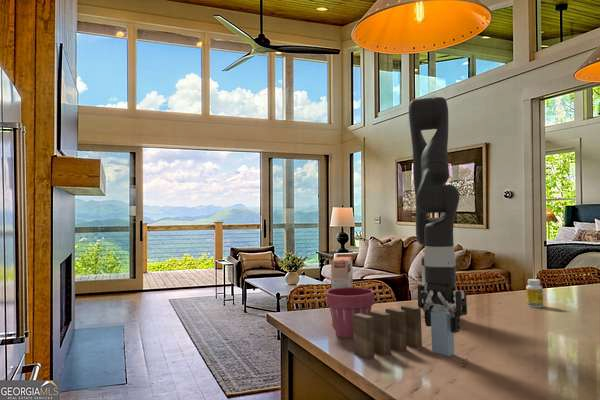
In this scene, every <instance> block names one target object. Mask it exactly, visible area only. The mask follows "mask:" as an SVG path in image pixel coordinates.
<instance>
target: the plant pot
mask: <svg viewBox="0 0 600 400" xmlns="http://www.w3.org/2000/svg"><path fill="white" fill-rule="evenodd" d="M325 293H326V294H325V295H326V299H325V300H326V305H327V306H328V307H329V308H330V309H329V310H330V314H331V321H332V320H333V324H334V326H333V327H334V333H335V335H336V336H337V337H338V338H344V339H354V335H353V314H358V313H360V314H364V315H368V316H370V311H372V306H373V305H375V291H374V290H373V289H371V288H367V287H355V286H353V287H343V288H334V289H332V288H330V289H328V290H326V292H325Z"/></svg>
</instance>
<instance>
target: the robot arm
mask: <svg viewBox="0 0 600 400" xmlns="http://www.w3.org/2000/svg"><path fill="white" fill-rule="evenodd" d="M448 107H449V106H448V102H447V100H446V98H445V97H442V96H433V97H427V98H424V97H423V98H416V99H412V100H411V101H410V102H409V105H408V121H409V130H410V137H411V138H410V139H411V146H412V166H413V167H412V170H413V172H412V175H413V186H414V187H413V188H414V198H415V237H416V240H417V243H418V244H419V245H421V246H424V254H423V256H422V257H421V280H422V281H421V283H422V284H418V285H417V288H416V289H417V308H421V310H422V316H423V317H424V324H425V326H426V327H430V328H431V312H432V311H441V312H445V313H450V315H451V317H450V324H451V332H452V333H453V334H456V333H459V331H460V330H461V317H463V316H467V314H468V306H467V305H468V303H467V292H466V290H465V289H462V290H461V289H460V290H457V289H456V287H455V283H456V282H457V271H456V269H457V268H456V253H455V246H454V224H455V218H456V214H457V210H458V206H459V202H460V193H459V189H457V187H456V186H454V185H453V184H446V183H447V182H448V181H449V179H450V169H449V159H448V145H449V144H448V142H449V108H448ZM430 130H436V131H435V133H434V135H433V136H432V137H431V139H430V140H429V141H428V143H427V142H426V140H425V138H424V136H423V132H422V131H430ZM439 213H440V214H443V213H444V215H443V217H427V214H439Z"/></svg>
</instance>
